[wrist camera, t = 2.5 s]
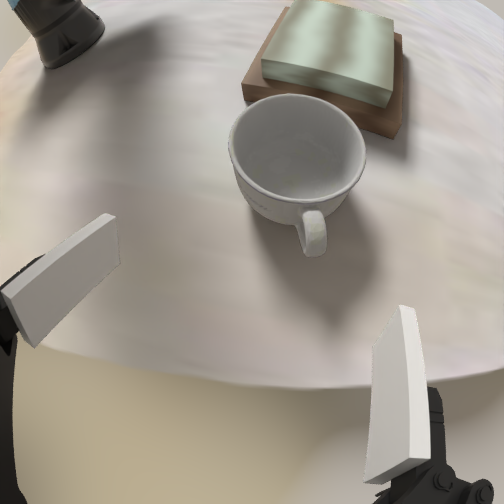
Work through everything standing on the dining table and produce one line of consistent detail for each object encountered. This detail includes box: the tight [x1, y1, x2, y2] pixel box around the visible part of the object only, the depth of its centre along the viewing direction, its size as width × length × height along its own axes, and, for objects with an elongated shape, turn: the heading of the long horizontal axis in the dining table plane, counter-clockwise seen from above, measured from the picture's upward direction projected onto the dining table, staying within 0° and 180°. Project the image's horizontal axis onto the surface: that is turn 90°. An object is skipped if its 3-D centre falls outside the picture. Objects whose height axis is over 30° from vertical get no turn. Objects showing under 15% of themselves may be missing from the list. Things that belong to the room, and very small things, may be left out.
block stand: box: [241, 0, 403, 139], centre depth 30 cm, size 18×20×6 cm
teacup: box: [228, 93, 366, 257], centre depth 25 cm, size 14×11×8 cm
